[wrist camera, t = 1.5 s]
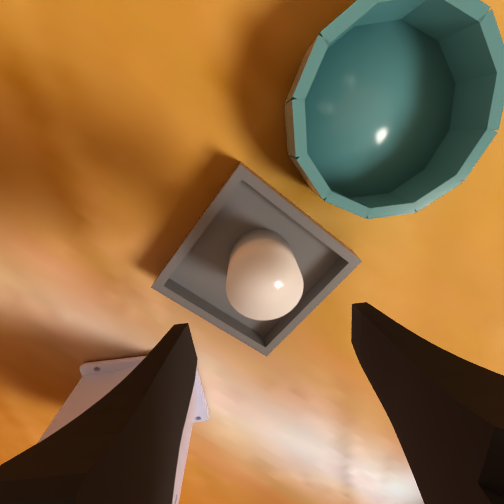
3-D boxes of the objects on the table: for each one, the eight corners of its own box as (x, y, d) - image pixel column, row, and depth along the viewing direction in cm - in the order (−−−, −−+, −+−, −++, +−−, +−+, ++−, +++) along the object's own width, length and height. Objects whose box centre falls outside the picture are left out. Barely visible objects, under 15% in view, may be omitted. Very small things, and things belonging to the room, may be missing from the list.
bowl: (290, 212, 19) (300, 227, 16) (277, 27, 15) (285, -2, 12) (443, 192, 19) (484, 204, 15) (470, -2, 15) (531, -39, 12)
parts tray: (265, 340, 23) (266, 356, 21) (158, 275, 20) (150, 287, 19) (352, 250, 20) (362, 261, 18) (240, 161, 18) (240, 164, 16)
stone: (234, 290, 20) (232, 324, 17) (224, 233, 19) (219, 257, 15) (294, 282, 20) (305, 315, 17) (290, 225, 19) (301, 247, 15)
